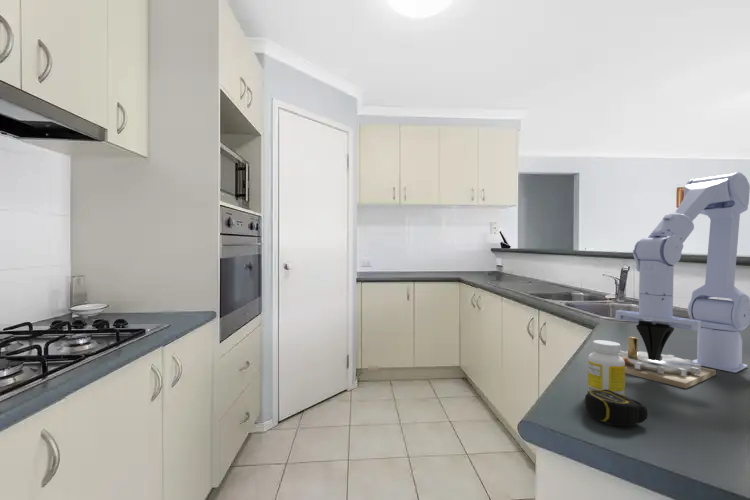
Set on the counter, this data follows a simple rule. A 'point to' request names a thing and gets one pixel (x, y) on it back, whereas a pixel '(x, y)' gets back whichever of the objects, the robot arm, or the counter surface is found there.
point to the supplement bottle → (606, 367)
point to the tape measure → (614, 408)
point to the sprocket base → (672, 376)
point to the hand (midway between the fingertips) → (654, 359)
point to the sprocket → (660, 366)
